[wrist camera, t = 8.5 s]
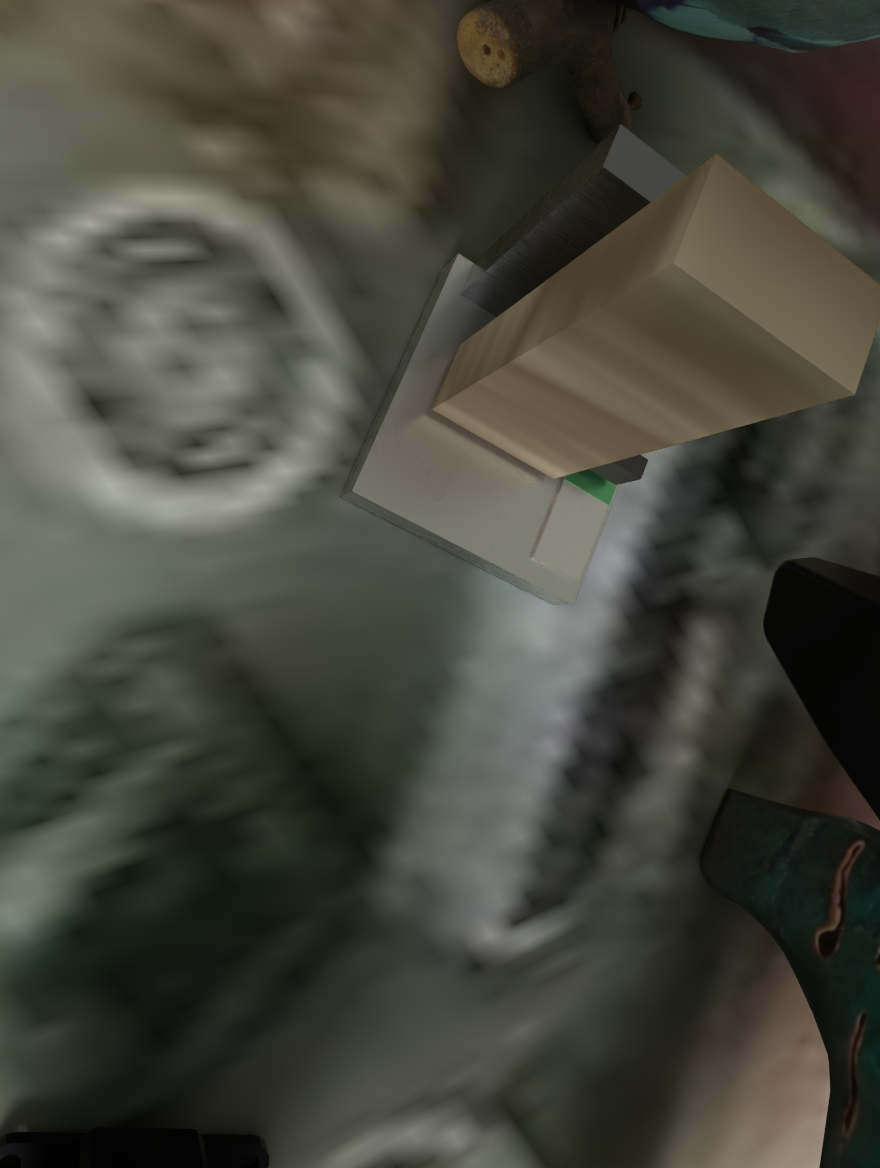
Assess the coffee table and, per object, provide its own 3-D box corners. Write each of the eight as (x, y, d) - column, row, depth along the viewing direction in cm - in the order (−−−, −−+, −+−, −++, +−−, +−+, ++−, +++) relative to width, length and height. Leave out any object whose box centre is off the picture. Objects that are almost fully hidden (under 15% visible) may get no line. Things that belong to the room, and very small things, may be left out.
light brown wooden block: (603, 507, 23) (925, 445, 14) (432, 409, 21) (674, 262, 12) (632, 431, 24) (964, 322, 14) (467, 328, 22) (726, 126, 13)
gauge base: (552, 604, 24) (751, 606, 17) (340, 496, 22) (458, 441, 14) (635, 393, 26) (854, 306, 18) (441, 269, 23) (600, 108, 16)
